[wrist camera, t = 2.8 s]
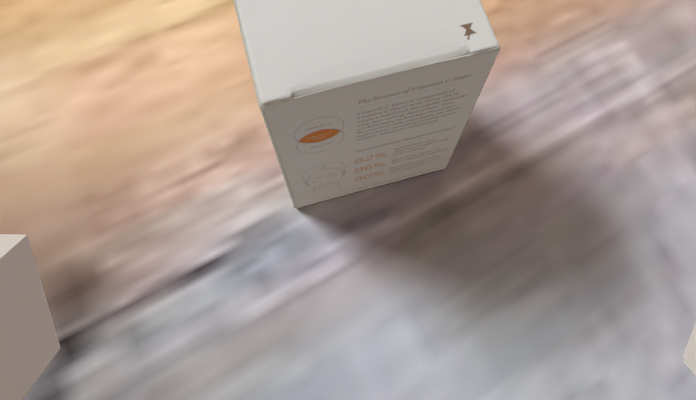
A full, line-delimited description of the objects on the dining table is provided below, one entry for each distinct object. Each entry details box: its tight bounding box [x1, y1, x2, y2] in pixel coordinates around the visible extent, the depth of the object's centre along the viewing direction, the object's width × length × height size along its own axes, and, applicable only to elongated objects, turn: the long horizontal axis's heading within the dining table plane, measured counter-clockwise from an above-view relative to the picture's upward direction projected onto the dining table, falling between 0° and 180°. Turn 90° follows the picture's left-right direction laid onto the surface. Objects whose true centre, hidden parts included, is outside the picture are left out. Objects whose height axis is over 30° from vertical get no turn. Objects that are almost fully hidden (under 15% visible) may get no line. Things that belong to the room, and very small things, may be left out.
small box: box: [233, 0, 500, 208], centre depth 22 cm, size 8×6×10 cm
